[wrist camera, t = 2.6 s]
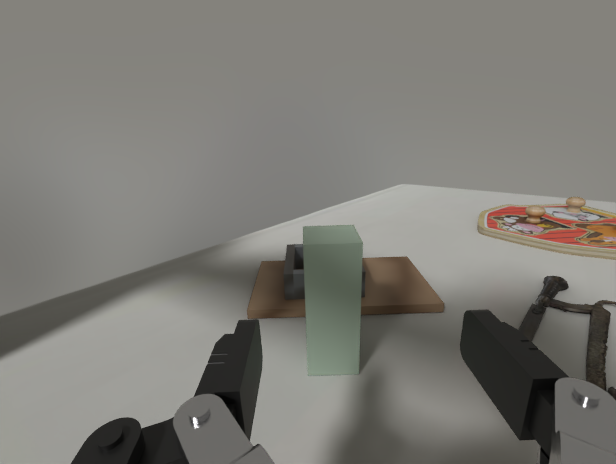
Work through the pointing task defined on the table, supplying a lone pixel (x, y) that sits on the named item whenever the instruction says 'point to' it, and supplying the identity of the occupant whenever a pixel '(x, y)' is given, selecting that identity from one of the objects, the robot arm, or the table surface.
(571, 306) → the hacksaw
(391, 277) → the tool stand
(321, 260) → the peg block
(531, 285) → the table surface
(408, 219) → the table surface
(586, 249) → the knob puzzle
